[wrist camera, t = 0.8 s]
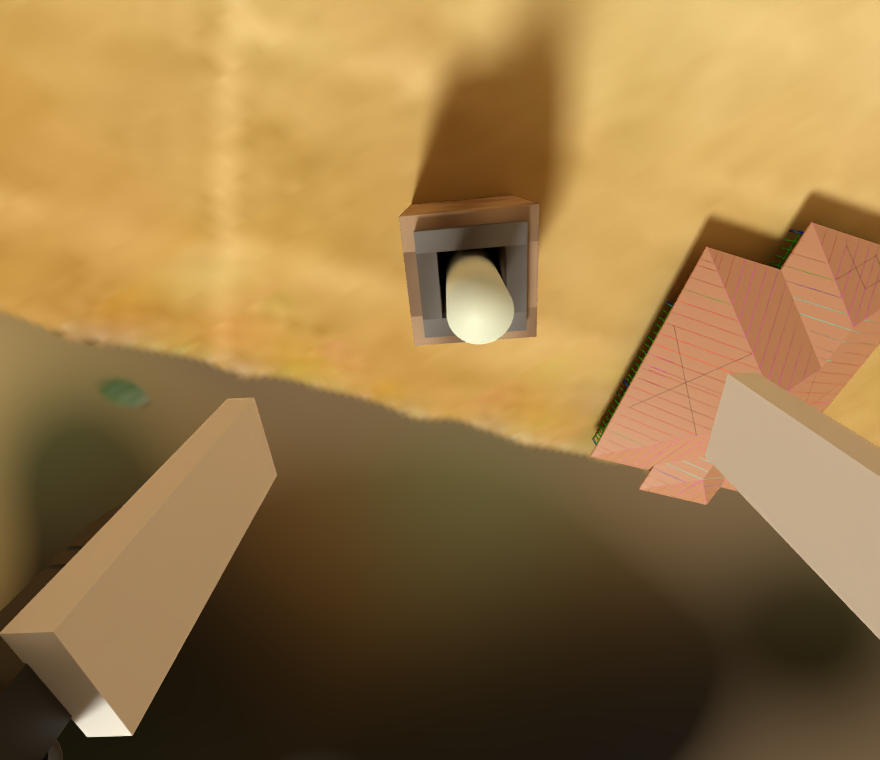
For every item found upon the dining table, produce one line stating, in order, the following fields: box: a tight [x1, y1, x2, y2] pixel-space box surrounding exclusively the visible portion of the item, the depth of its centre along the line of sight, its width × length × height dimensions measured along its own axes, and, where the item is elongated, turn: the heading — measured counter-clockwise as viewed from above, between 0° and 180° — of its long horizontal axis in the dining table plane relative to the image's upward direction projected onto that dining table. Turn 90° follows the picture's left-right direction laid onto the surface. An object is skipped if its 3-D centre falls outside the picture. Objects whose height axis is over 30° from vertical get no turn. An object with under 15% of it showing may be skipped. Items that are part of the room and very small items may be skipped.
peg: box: [446, 248, 514, 344], centre depth 29 cm, size 4×4×12 cm
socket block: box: [399, 195, 540, 346], centre depth 36 cm, size 10×10×13 cm
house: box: [591, 222, 880, 505], centre depth 45 cm, size 23×33×8 cm
